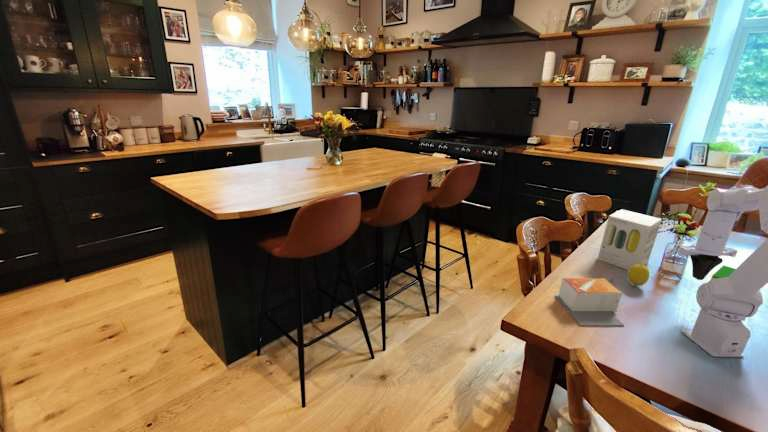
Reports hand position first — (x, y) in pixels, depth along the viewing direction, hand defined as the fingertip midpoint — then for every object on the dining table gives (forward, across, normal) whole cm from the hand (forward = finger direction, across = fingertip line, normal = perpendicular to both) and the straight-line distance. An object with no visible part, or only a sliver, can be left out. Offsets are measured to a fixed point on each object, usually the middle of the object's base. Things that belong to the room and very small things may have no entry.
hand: (697, 278), depth 101 cm
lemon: (+11, +6, -13) cm, 18 cm away
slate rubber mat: (+10, +30, +1) cm, 32 cm away
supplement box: (+11, -2, -31) cm, 33 cm away
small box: (+7, +22, -2) cm, 23 cm away
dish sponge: (+11, -31, -18) cm, 38 cm away
